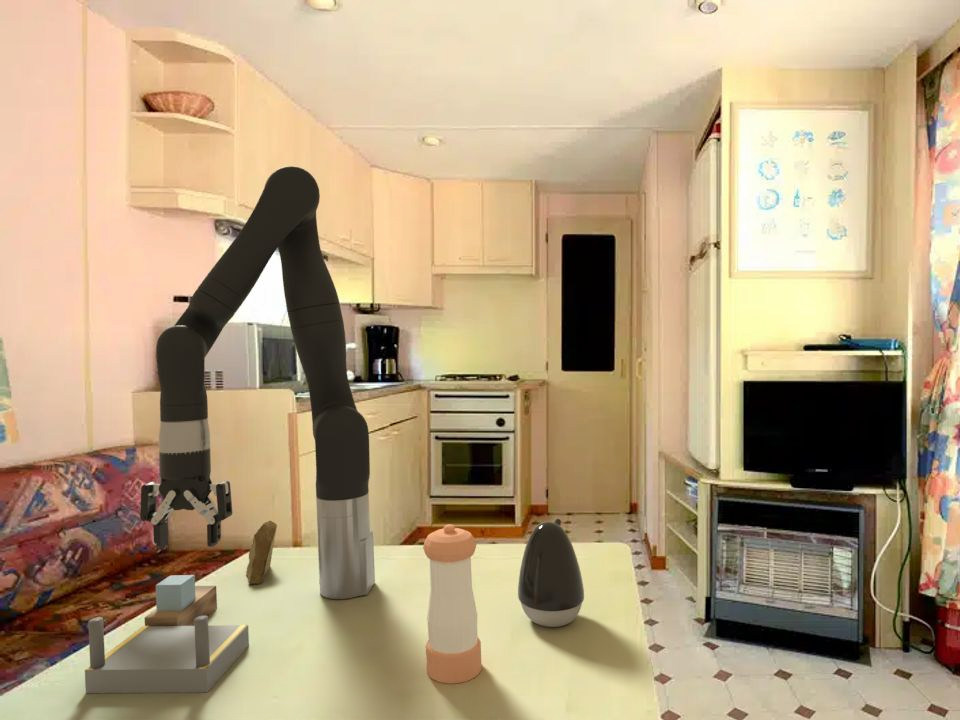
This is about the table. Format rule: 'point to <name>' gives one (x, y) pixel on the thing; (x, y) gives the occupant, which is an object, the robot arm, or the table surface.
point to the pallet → (186, 610)
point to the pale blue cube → (175, 592)
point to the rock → (261, 552)
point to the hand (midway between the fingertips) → (187, 545)
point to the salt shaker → (451, 607)
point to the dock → (164, 658)
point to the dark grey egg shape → (550, 577)
